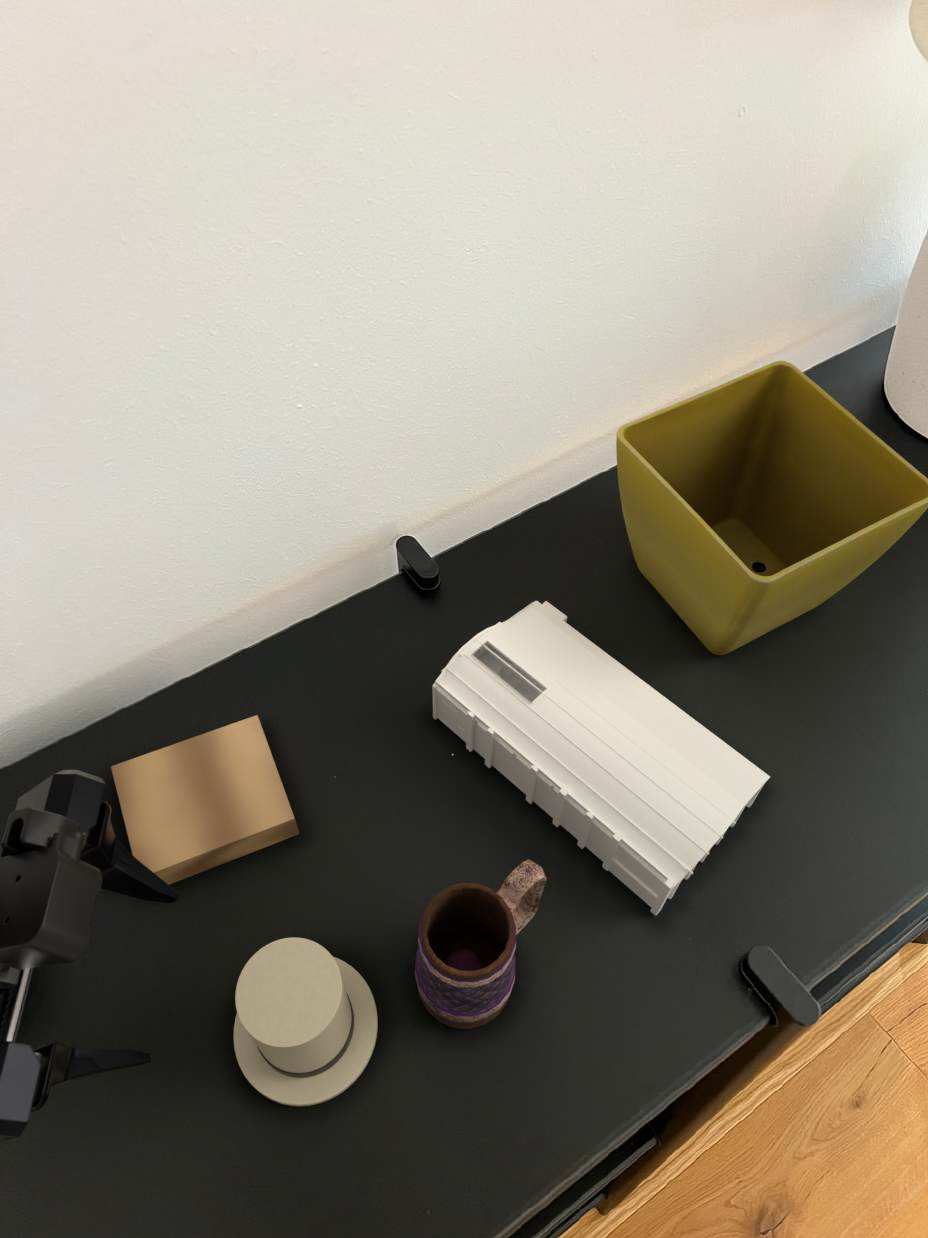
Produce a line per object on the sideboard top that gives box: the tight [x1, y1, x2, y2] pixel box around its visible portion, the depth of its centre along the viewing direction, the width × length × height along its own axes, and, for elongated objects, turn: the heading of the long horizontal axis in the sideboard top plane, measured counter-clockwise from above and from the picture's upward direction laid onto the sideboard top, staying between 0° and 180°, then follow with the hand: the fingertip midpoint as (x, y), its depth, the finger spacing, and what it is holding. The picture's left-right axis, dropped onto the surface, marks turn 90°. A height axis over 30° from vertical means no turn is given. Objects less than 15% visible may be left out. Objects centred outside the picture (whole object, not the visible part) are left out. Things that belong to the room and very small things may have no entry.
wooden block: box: [110, 714, 300, 886], centre depth 75 cm, size 12×10×3 cm
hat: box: [233, 936, 379, 1107], centre depth 63 cm, size 10×10×10 cm
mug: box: [414, 858, 548, 1030], centre depth 65 cm, size 10×7×12 cm
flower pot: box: [615, 360, 928, 656], centre depth 84 cm, size 19×19×17 cm
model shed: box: [431, 600, 771, 917], centre depth 77 cm, size 25×15×7 cm, turn 46°
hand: (162, 975), depth 56 cm, fingers open, 9 cm apart
